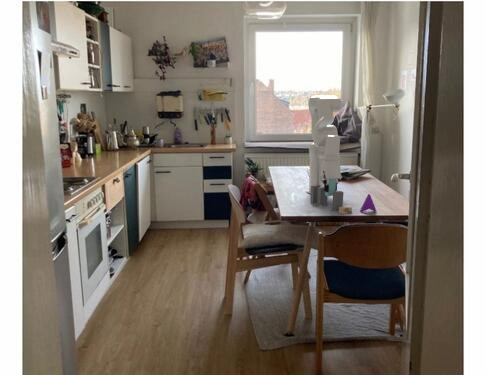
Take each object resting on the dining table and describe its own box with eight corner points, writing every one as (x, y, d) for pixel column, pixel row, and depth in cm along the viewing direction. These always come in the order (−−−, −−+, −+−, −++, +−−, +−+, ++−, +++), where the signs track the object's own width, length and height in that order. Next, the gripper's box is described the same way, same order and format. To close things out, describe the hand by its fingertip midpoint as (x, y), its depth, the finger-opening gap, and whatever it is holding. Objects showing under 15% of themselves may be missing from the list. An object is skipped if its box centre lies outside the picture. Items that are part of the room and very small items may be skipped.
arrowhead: (366, 219, 235) (380, 206, 235) (368, 220, 234) (381, 206, 234) (355, 207, 233) (368, 193, 233) (356, 207, 231) (369, 194, 231)
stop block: (347, 211, 235) (348, 205, 234) (351, 212, 232) (351, 207, 231) (338, 212, 232) (339, 207, 231) (342, 213, 229) (343, 208, 229)
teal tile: (325, 195, 241) (325, 177, 239) (332, 194, 243) (333, 176, 242) (328, 196, 239) (328, 178, 237) (335, 195, 241) (336, 177, 239)
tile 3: (332, 209, 237) (332, 191, 235) (339, 208, 240) (340, 190, 238) (335, 211, 235) (336, 192, 233) (342, 209, 237) (343, 191, 235)
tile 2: (317, 204, 248) (317, 187, 246) (324, 203, 251) (325, 186, 249) (320, 205, 246) (320, 188, 244) (327, 204, 249) (327, 187, 247)
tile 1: (310, 202, 254) (310, 185, 252) (317, 201, 256) (317, 184, 254) (313, 203, 252) (313, 186, 250) (320, 202, 254) (320, 185, 252)
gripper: (339, 156, 244) (338, 188, 248) (314, 158, 237) (313, 191, 240) (348, 158, 238) (347, 191, 241) (323, 159, 230) (322, 194, 234)
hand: (330, 190), depth 241 cm, fingers closed on teal tile, 4 cm apart
